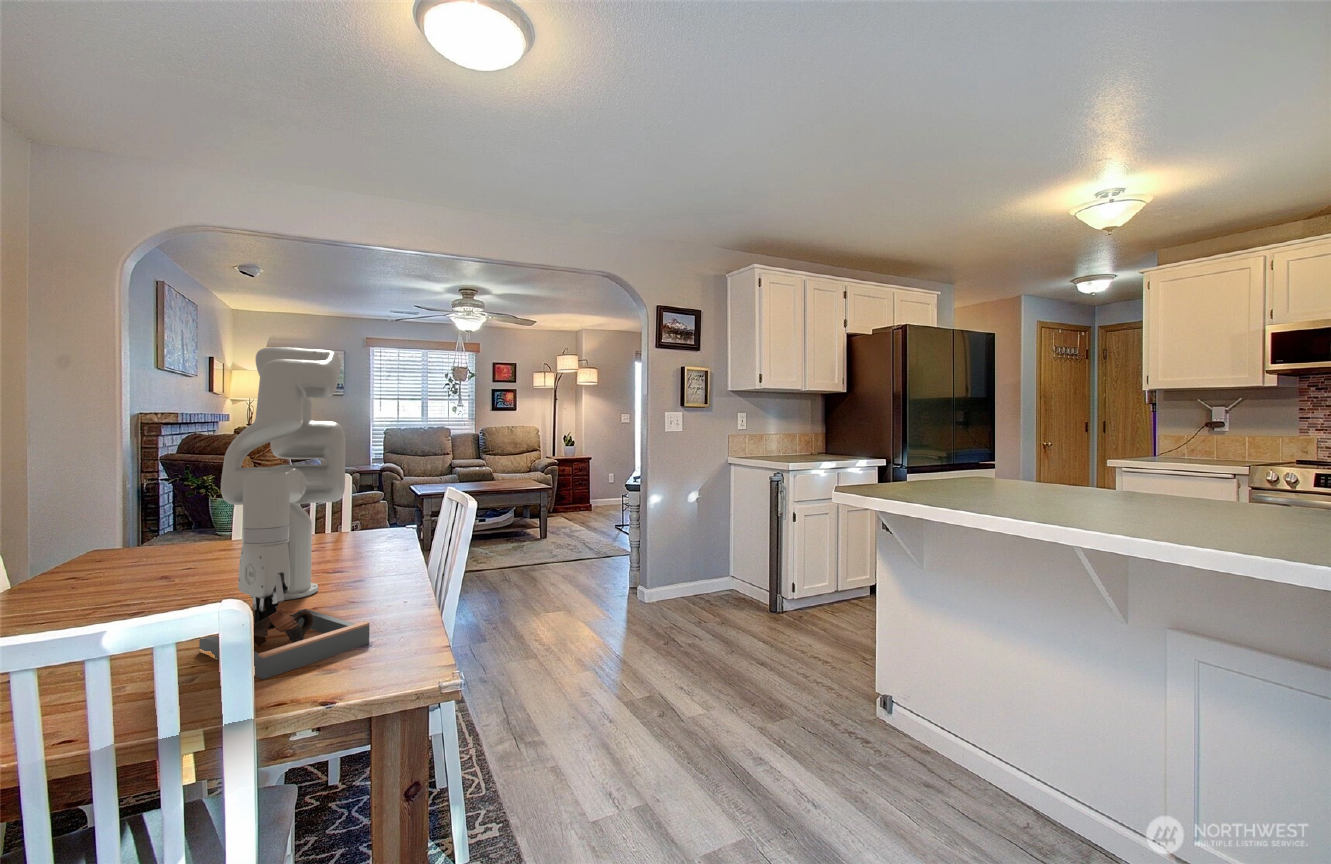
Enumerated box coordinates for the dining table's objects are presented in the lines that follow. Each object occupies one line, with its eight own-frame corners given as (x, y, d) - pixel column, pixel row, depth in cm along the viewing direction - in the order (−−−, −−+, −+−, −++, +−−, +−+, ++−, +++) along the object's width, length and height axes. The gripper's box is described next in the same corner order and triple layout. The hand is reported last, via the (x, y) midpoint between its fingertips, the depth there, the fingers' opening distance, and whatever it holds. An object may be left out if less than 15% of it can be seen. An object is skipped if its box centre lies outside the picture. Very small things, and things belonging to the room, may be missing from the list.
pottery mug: (273, 667, 104) (248, 627, 103) (247, 679, 108) (223, 641, 107) (332, 628, 114) (310, 592, 114) (307, 641, 119) (285, 606, 118)
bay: (199, 652, 108) (199, 630, 108) (305, 622, 124) (305, 604, 124) (263, 679, 97) (263, 655, 97) (369, 643, 114) (369, 622, 114)
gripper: (224, 533, 115) (223, 627, 115) (266, 543, 107) (264, 643, 107) (266, 528, 121) (265, 617, 121) (308, 536, 114) (306, 631, 114)
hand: (265, 629), depth 114 cm, fingers closed
